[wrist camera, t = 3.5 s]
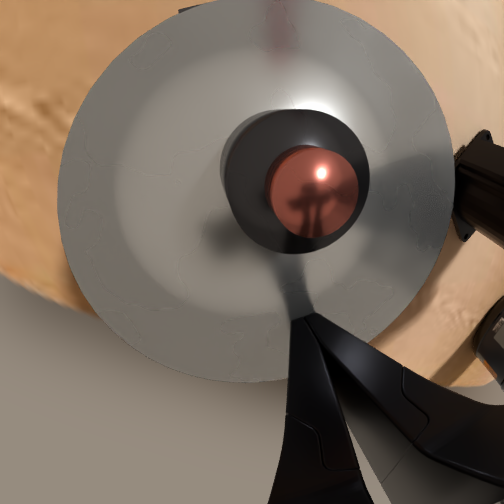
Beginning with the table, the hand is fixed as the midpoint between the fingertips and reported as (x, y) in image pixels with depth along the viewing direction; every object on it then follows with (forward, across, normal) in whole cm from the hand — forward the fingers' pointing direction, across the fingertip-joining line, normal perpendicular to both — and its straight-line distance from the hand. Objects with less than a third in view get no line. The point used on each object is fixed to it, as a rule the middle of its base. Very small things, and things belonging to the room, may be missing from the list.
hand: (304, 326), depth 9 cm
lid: (+1, 0, -3) cm, 3 cm away
